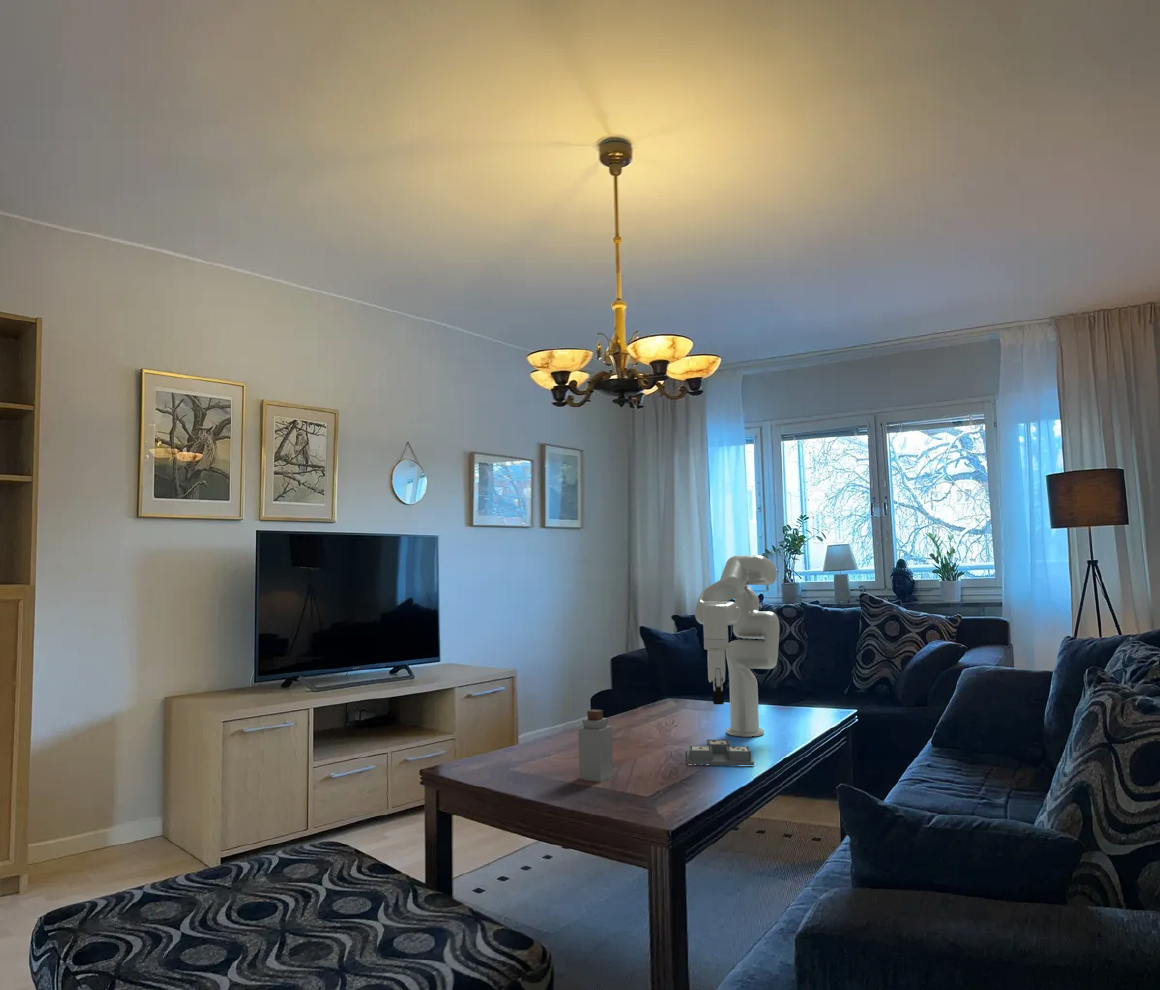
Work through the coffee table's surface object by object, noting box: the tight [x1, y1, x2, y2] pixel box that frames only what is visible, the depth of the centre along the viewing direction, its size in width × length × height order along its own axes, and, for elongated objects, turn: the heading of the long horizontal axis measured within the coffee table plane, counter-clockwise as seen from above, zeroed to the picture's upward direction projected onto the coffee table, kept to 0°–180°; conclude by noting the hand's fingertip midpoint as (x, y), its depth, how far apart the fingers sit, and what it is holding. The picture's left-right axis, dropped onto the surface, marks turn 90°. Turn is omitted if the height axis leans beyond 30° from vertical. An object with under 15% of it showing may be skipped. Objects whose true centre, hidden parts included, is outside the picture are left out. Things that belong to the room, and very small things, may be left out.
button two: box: [708, 739, 727, 744], centre depth 241 cm, size 5×5×2 cm
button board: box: [686, 739, 755, 766], centre depth 237 cm, size 18×19×4 cm
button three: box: [729, 747, 748, 751], centre depth 232 cm, size 5×5×2 cm
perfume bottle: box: [578, 708, 614, 783], centre depth 218 cm, size 7×7×18 cm
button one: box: [691, 745, 709, 750], centre depth 233 cm, size 5×5×2 cm
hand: (718, 703), depth 244 cm, fingers closed
